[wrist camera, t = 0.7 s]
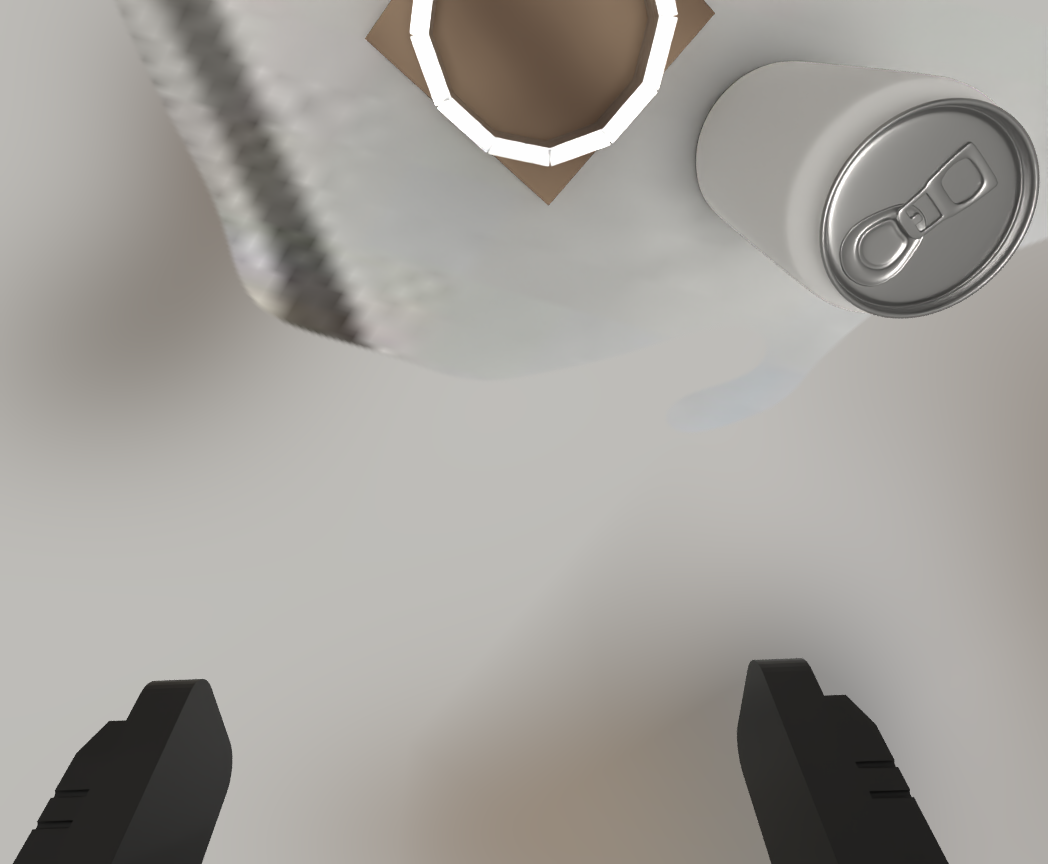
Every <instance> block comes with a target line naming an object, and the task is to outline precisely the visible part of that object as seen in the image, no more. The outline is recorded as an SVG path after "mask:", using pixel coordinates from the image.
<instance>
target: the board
mask: <svg viewBox="0 0 1048 864" xmlns="http://www.w3.org/2000/svg"><path fill="white" fill-rule="evenodd" d="M675 3H676V8H677V13H678V14H677V15H674V16H672V17H677V22H676V26H675V30H674V33H673V37H672V41H671V45H670V49H669V52H668V56H667V60H666V64H665V68H664V72H665V70H666V69H667V68H668V67H669V66H670V65H671V63H672V62H673V61H674V60H675V59H676V58H677V57H678V55H679V54H680V53H681V52H682V51H683V50H684V48H685V47H686V46H687V45H688V44H689V43H690V42H691V40H692V39H693V38H694V37H695V36H696V35H697V33H698V32H699V31H700V30H701V29H702V28H703V27H704V25H705V24H706V23H707V22H708V21H709V20H710V18H711V17H712V16H713V15H714V14H715V13H714V12H713V10H712V9H711V8H710V7H709V6H708V5H707V3H706V2H705V1H704V0H675ZM412 9H413V0H391V2H390V3H389V5H388V6H387V7H386V9H385V10H384V12H383V13H382V15H381V16H380V18H379V19H378V21H377V22H376V23H375V25H374V26H373V28H372V29H371V31H370V32H369V34H368V35H367V36H366V38H365V39H366V40H367V41H368V42H369V43H370V44H372V45H373V46H374V47H375V48H376V49H377V50H378V51H379V52H380V53H381V54H383V55H384V56H385V57H386V58H387V59H388V60H389V61H390V62H391V63H392V64H394V65H395V66H396V67H397V68H398V69H399V70H400V71H401V72H402V73H403V74H405V75H406V76H407V77H408V78H409V79H410V80H411V81H412V82H413V83H414V84H416V85H417V86H418V87H419V88H420V89H421V90H422V91H423V92H424V93H425V94H427V95H428V96H429V97H430V98H431V99H432V100H433V98H432V96H431V93H430V90H429V87H428V85H427V82H426V79H425V76H424V74H423V71H422V68H421V65H420V63H419V60H418V57H417V54H416V52H415V49H414V46H413V43H412V41H411V38H410V37H412V36H414V34H410V27H411V18H412ZM647 20H648V16H647V12H646V7H645V3H644V0H437V1H436V9H435V17H434V25H433V33H432V34H433V37H434V40H435V42H436V45H437V48H438V51H439V54H440V57H441V60H442V62H443V65H444V68H445V71H446V74H447V77H448V80H449V82H450V85H451V88H452V91H453V93H454V94H456V95H457V96H458V97H459V98H460V99H461V100H462V101H463V102H464V103H465V104H466V105H467V106H469V107H470V108H471V109H472V110H473V111H474V112H475V113H476V114H477V115H478V116H479V117H480V118H482V119H483V120H484V121H485V122H486V123H487V124H488V125H489V126H490V127H491V128H492V129H493V130H496V131H500V132H505V133H510V134H515V135H519V136H524V137H529V138H534V139H538V140H543V141H547V140H550V139H552V138H555V137H558V136H561V135H563V134H566V133H569V132H572V131H574V130H577V129H580V128H583V127H585V126H588V125H591V124H594V123H596V122H597V121H598V119H599V118H600V117H601V116H602V115H603V114H604V112H605V111H606V110H607V109H608V108H609V106H610V105H611V104H612V103H613V102H614V101H615V99H616V98H617V97H618V96H619V95H620V94H621V92H622V91H623V90H624V89H625V88H626V87H627V85H628V84H629V83H630V82H631V81H632V79H633V77H634V73H635V69H636V65H637V61H638V57H639V52H640V48H641V44H642V40H643V36H644V32H645V28H646V24H647ZM664 72H663V73H664ZM439 105H440V104H439ZM595 151H596V150H595ZM595 151H593V152H590V153H587V154H584V155H581V156H579V157H576V158H573V159H570V160H568V161H565V162H562V163H559V164H556V165H554V166H551V164H550V163H549V166H544V165H539V164H534V163H529V162H525V161H520V160H515V159H510V158H505V157H500V156H495V155H494V156H495V157H496V158H497V159H498V160H499V161H500V162H501V163H502V164H504V165H505V166H506V167H507V168H508V169H509V170H510V171H511V172H512V173H513V174H515V175H516V176H517V177H518V178H519V179H520V180H521V181H522V182H523V183H524V184H526V185H527V186H528V187H529V188H530V189H531V190H532V191H533V192H534V193H535V194H537V195H538V196H539V197H540V198H541V199H542V200H543V201H544V202H545V203H546V204H548V205H549V204H550V203H551V202H552V201H553V200H554V199H555V197H556V196H557V195H558V194H559V193H560V192H561V190H562V189H563V188H564V187H565V186H566V185H567V184H568V182H569V181H570V180H571V179H572V178H573V177H574V175H575V174H576V173H577V172H578V171H579V170H580V169H581V167H582V166H583V165H584V164H585V163H586V162H587V160H588V159H589V158H590V157H591V156H592V155H593V154H594V152H595Z"/></svg>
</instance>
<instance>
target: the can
mask: <svg viewBox="0 0 1048 864" xmlns="http://www.w3.org/2000/svg"><path fill="white" fill-rule="evenodd" d="M696 171H697V178H698V183H699V187H700V190H701V193H702V195H703V197H704V199H705V200H706V202H707V203H708V205H709V206H710V207H711V209H712V210H713V211H714V212H715V213H716V214H717V215H718V216H719V217H720V218H721V219H723V220H724V221H725V222H726V223H727V224H728V225H729V226H731V227H732V228H733V229H734V230H735V231H737V232H738V233H739V234H740V235H741V236H743V237H744V238H745V239H746V240H747V241H749V242H750V243H751V244H752V245H753V246H755V247H756V248H757V249H758V250H759V251H761V252H762V253H763V254H764V255H766V256H767V257H768V258H769V259H770V260H772V261H773V262H774V263H775V264H776V265H778V266H779V267H780V268H781V269H783V270H784V271H785V272H786V273H788V274H789V275H790V276H791V277H793V278H794V279H795V280H796V281H798V282H799V283H800V284H801V285H803V286H804V287H805V288H806V289H808V290H809V291H811V292H812V293H813V294H815V295H816V296H818V297H819V298H821V299H822V300H824V301H826V302H828V303H830V304H832V305H834V306H837V307H839V308H842V309H845V310H849V311H853V312H860V313H870V314H873V315H877V316H881V317H887V318H913V317H920V316H925V315H929V314H933V313H936V312H939V311H942V310H944V309H947V308H949V307H951V306H953V305H955V304H957V303H959V302H961V301H963V300H965V299H966V298H968V297H969V296H971V295H972V294H974V293H975V292H977V291H978V290H979V289H981V288H982V287H983V286H984V285H986V284H987V283H988V282H989V281H990V280H991V279H992V278H993V277H994V276H995V275H996V274H997V273H998V272H999V271H1000V270H1001V269H1002V268H1003V267H1004V266H1005V265H1006V263H1007V262H1008V261H1009V259H1010V258H1011V257H1012V256H1013V254H1014V253H1015V251H1016V250H1017V248H1018V247H1019V245H1020V243H1021V242H1022V240H1023V238H1024V236H1025V234H1026V232H1027V230H1028V228H1029V225H1030V223H1031V220H1032V218H1033V215H1034V211H1035V208H1036V204H1037V199H1038V193H1039V165H1038V159H1037V155H1036V152H1035V148H1034V146H1033V143H1032V141H1031V139H1030V137H1029V135H1028V134H1027V132H1026V131H1025V129H1024V128H1023V126H1022V125H1021V124H1020V123H1019V122H1018V121H1017V120H1016V119H1015V118H1014V117H1013V116H1012V115H1010V114H1009V113H1008V112H1006V111H1005V110H1003V109H1002V108H1000V107H998V106H997V105H996V104H995V103H994V102H993V101H992V100H991V99H990V98H989V97H988V96H986V95H985V94H984V93H982V92H981V91H980V90H978V89H976V88H974V87H972V86H970V85H968V84H966V83H963V82H960V81H957V80H955V79H951V78H947V77H942V76H936V75H930V74H922V73H914V72H905V71H896V70H886V69H877V68H867V67H857V66H847V65H837V64H826V63H815V62H802V61H785V62H778V63H773V64H769V65H765V66H763V67H760V68H758V69H755V70H753V71H751V72H749V73H748V74H746V75H744V76H743V77H741V78H740V79H739V80H737V81H736V82H735V83H734V84H732V85H731V86H730V87H729V88H728V89H727V90H726V91H725V92H724V93H723V94H722V95H721V97H720V98H719V99H718V100H717V102H716V103H715V104H714V106H713V107H712V109H711V111H710V112H709V114H708V116H707V118H706V120H705V122H704V125H703V127H702V130H701V133H700V136H699V140H698V145H697V152H696Z"/></svg>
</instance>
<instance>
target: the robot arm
mask: <svg viewBox="0 0 1048 864" xmlns="http://www.w3.org/2000/svg"><path fill="white" fill-rule="evenodd" d="M737 743H738V753H739V759H740V764H741V768H742V772H743V775H744V778H745V781H746V785H747V788H748V791H749V794H750V797H751V800H752V804H753V806H754V810H755V813H756V816H757V820H758V823H759V826H760V829H761V832H762V835H763V839H764V841H765V845H766V848H767V851H768V854H769V857H770V861H771V864H948V862H947V860H946V858H945V856H944V854H943V852H942V850H941V848H940V846H939V845H938V842H937V841H936V839H935V837H934V835H933V833H932V831H931V829H930V827H929V825H928V823H927V821H926V820H925V818H924V816H923V814H922V812H921V810H920V808H919V807H918V804H917V802H916V801H915V799H914V797H911V795H910V789H909V787H908V785H907V783H906V781H905V779H904V778H903V776H902V774H901V772H900V770H899V768H898V767H895V764H894V758H893V756H892V755H891V753H890V751H889V749H888V747H887V745H886V743H885V741H884V739H883V738H882V735H881V734H880V732H879V730H878V728H877V726H876V725H875V723H874V722H872V720H871V719H870V718H868V716H867V715H865V714H864V713H863V711H862V710H860V709H859V708H858V707H857V706H856V705H855V704H854V703H853V702H852V701H851V700H850V699H849V698H848V697H847V696H846V695H831V696H824V695H823V692H822V690H821V688H820V686H819V684H818V682H817V680H816V678H815V676H814V674H813V671H812V669H811V667H810V666H809V664H808V663H807V662H806V661H805V660H804V659H802V658H796V659H771V660H770V659H769V660H752V661H751V662H750V664H749V666H748V670H747V676H746V682H745V687H744V693H743V699H742V704H741V710H740V716H739V721H738V727H737ZM231 771H232V749H231V744H230V741H229V738H228V735H227V732H226V729H225V726H224V723H223V720H222V717H221V715H220V712H219V709H218V706H217V703H216V700H215V697H214V694H213V691H212V688H211V686H210V684H209V683H208V681H207V680H205V679H193V680H169V681H168V680H167V681H152V682H150V683H149V684H147V685H146V686H145V688H144V689H143V690H142V692H141V694H140V695H139V697H138V699H137V701H136V703H135V705H134V707H133V709H132V710H131V712H130V714H129V716H128V718H127V720H126V721H109V722H108V723H107V724H106V725H105V726H104V727H103V728H102V729H101V730H100V731H99V732H98V733H97V734H96V735H95V736H94V737H93V738H92V739H91V740H89V741H88V743H87V744H85V745H84V746H83V747H82V748H81V749H80V750H79V751H78V752H77V753H76V755H75V757H74V758H73V760H72V762H71V764H70V765H69V767H68V769H67V771H66V772H65V774H64V776H63V778H62V779H61V781H60V783H59V785H58V786H57V788H56V790H55V796H54V798H51V799H50V800H49V802H48V804H47V805H46V807H45V809H44V811H43V813H42V814H41V816H40V818H39V820H38V821H37V822H38V826H37V828H36V829H34V830H32V832H31V834H30V835H29V837H28V838H27V840H26V842H25V844H24V845H23V847H22V849H21V851H20V852H19V854H18V856H17V858H16V859H15V861H14V863H13V864H202V861H203V858H204V855H205V852H206V850H207V847H208V844H209V841H210V838H211V835H212V833H213V830H214V827H215V824H216V821H217V818H218V816H219V813H220V810H221V807H222V804H223V802H224V799H225V796H226V793H227V790H228V787H229V783H230V777H231Z"/></svg>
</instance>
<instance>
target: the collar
mask: <svg viewBox="0 0 1048 864" xmlns="http://www.w3.org/2000/svg"><path fill="white" fill-rule="evenodd" d="M436 1H437V0H413V9H412V18H411V27H410V34H414V36H412V37H410V38H411V41H412V43H413V46H414V49H415V52H416V54H417V57H418V60H419V63H420V65H421V68H422V71H423V74H424V76H425V79H426V82H427V85H428V87H429V90H430V93H431V96H432V98H433V101H434V104H435V106H436V105H439V104H440V105H439V106H438V108H437V109H438V110H439V111H440V112H441V113H443V114H444V115H445V116H446V117H447V118H448V119H449V120H450V121H451V122H453V123H454V124H455V125H456V126H457V127H458V128H459V129H460V130H461V131H462V132H464V133H465V134H466V135H467V136H468V137H469V138H470V139H471V140H472V141H473V142H475V143H476V144H477V145H478V146H479V147H480V148H481V149H482V150H483V151H485V152H487V151H488V154H491V155H495V156H500V157H505V158H510V159H515V160H520V161H525V162H529V163H534V164H539V165H544V166H549V163H550V164H551V166H554V165H556V164H559V163H562V162H565V161H568V160H570V159H573V158H576V157H579V156H581V155H584V154H587V153H590V152H593V151H595V150H598V149H601V148H604V147H607V146H609V145H610V142H609V141H611V142H612V143H614V141H615V140H616V139H617V138H618V137H619V136H620V135H621V133H622V132H623V131H624V130H625V129H626V128H627V127H628V125H629V124H630V123H631V122H632V121H633V120H634V118H635V117H636V116H637V115H638V114H639V113H640V112H641V110H642V109H643V108H644V107H645V106H646V105H647V104H648V102H649V101H650V100H651V99H652V98H653V97H654V96H655V94H656V93H657V91H656V90H655V89H659V87H660V83H661V79H662V75H663V72H664V68H665V64H666V60H667V56H668V52H669V49H670V45H671V41H672V37H673V33H674V30H675V26H676V22H677V17H672V16H674V15H677V14H678V13H677V8H676V3H675V0H644V3H645V7H646V12H647V16H648V20H647V24H646V28H645V32H644V36H643V40H642V44H641V48H640V52H639V57H638V61H637V65H636V69H635V73H634V77H633V79H632V81H631V82H630V83H629V84H628V85H627V87H626V88H625V89H624V90H623V91H622V92H621V94H620V95H619V96H618V97H617V98H616V99H615V101H614V102H613V103H612V104H611V105H610V106H609V108H608V109H607V110H606V111H605V112H604V114H603V115H602V116H601V117H600V118H599V119H598V121H597V122H596V123H594V124H591V125H588V126H585V127H583V128H580V129H577V130H574V131H572V132H569V133H566V134H563V135H561V136H558V137H555V138H552V139H550V140H547V141H543V140H538V139H534V138H529V137H524V136H519V135H515V134H510V133H505V132H500V131H496V130H493V129H492V128H491V127H490V126H489V125H488V124H487V123H486V122H485V121H484V120H483V119H482V118H480V117H479V116H478V115H477V114H476V113H475V112H474V111H473V110H472V109H471V108H470V107H469V106H467V105H466V104H465V103H464V102H463V101H462V100H461V99H460V98H459V97H458V96H457V95H456V94H454V93H453V91H452V88H451V85H450V82H449V80H448V77H447V74H446V71H445V68H444V65H443V62H442V60H441V57H440V54H439V51H438V48H437V45H436V42H435V40H434V37H433V34H432V33H433V25H434V17H435V9H436ZM654 88H655V89H654Z"/></svg>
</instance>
